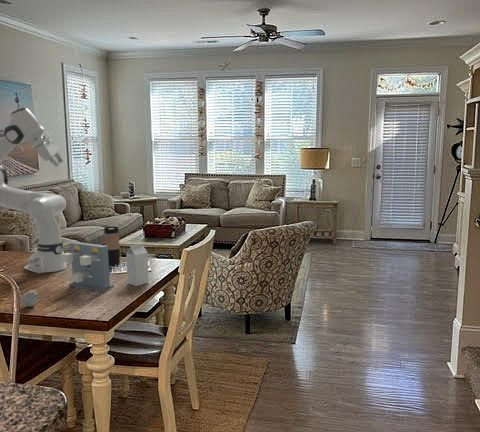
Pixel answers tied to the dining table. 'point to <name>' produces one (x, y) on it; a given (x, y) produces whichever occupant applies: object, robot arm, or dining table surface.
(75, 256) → the button top left
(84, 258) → the button top right
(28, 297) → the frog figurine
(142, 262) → the milk carton
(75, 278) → the button bottom
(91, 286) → the panel
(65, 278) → the dining table surface
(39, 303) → the dining table surface
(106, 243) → the travel mug
